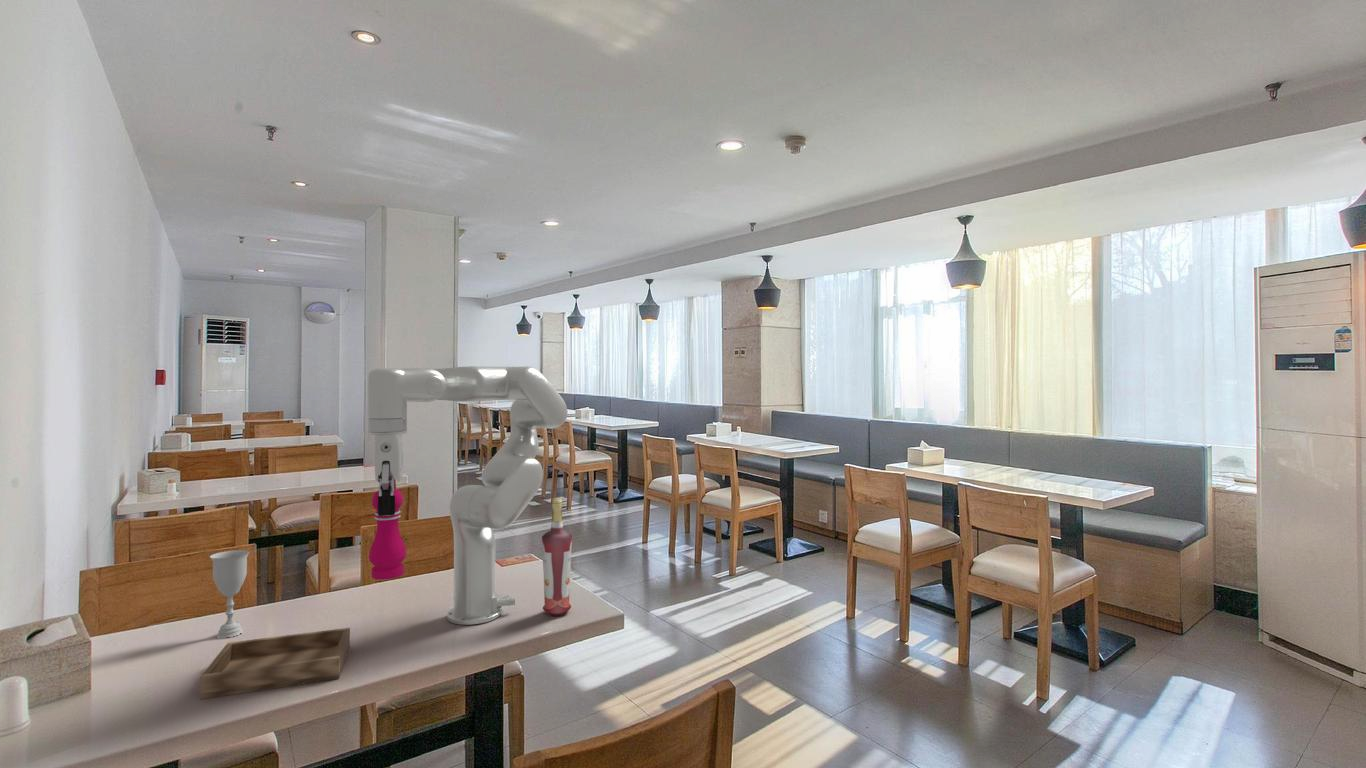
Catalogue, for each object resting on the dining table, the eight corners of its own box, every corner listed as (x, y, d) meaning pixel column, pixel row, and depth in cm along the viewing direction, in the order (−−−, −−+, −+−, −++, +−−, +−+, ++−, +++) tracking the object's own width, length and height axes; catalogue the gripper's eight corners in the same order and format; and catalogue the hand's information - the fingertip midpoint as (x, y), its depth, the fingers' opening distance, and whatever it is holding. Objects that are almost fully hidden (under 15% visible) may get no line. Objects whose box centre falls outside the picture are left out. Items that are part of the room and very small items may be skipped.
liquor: (573, 616, 153) (573, 501, 153) (542, 619, 152) (542, 502, 152) (571, 606, 161) (571, 495, 160) (541, 608, 159) (541, 497, 159)
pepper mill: (391, 581, 130) (391, 484, 130) (360, 579, 131) (360, 483, 131) (413, 571, 137) (413, 478, 137) (383, 569, 139) (383, 477, 138)
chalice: (207, 642, 138) (206, 560, 138) (213, 631, 144) (213, 552, 144) (247, 636, 141) (247, 555, 141) (251, 626, 147) (251, 548, 147)
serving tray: (349, 646, 136) (349, 627, 136) (338, 678, 121) (338, 657, 121) (227, 662, 128) (227, 642, 128) (200, 699, 113) (200, 677, 113)
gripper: (405, 429, 127) (405, 518, 128) (408, 423, 144) (408, 503, 144) (363, 430, 125) (363, 521, 125) (371, 424, 141) (371, 505, 141)
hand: (387, 511), depth 134 cm, fingers closed on pepper mill, 5 cm apart
